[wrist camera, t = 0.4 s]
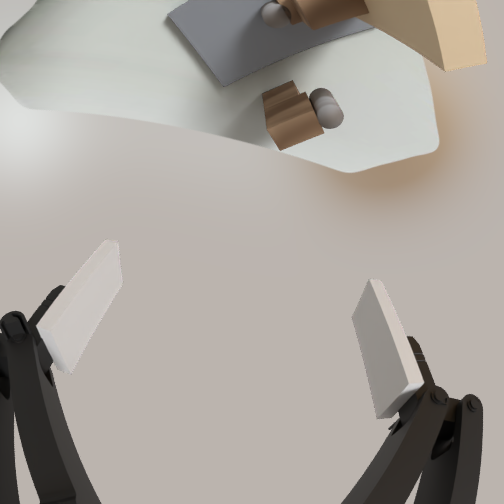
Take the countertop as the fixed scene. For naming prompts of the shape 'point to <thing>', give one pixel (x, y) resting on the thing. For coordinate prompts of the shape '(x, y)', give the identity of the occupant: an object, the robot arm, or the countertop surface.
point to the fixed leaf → (311, 12)
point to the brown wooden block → (299, 114)
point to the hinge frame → (327, 33)
